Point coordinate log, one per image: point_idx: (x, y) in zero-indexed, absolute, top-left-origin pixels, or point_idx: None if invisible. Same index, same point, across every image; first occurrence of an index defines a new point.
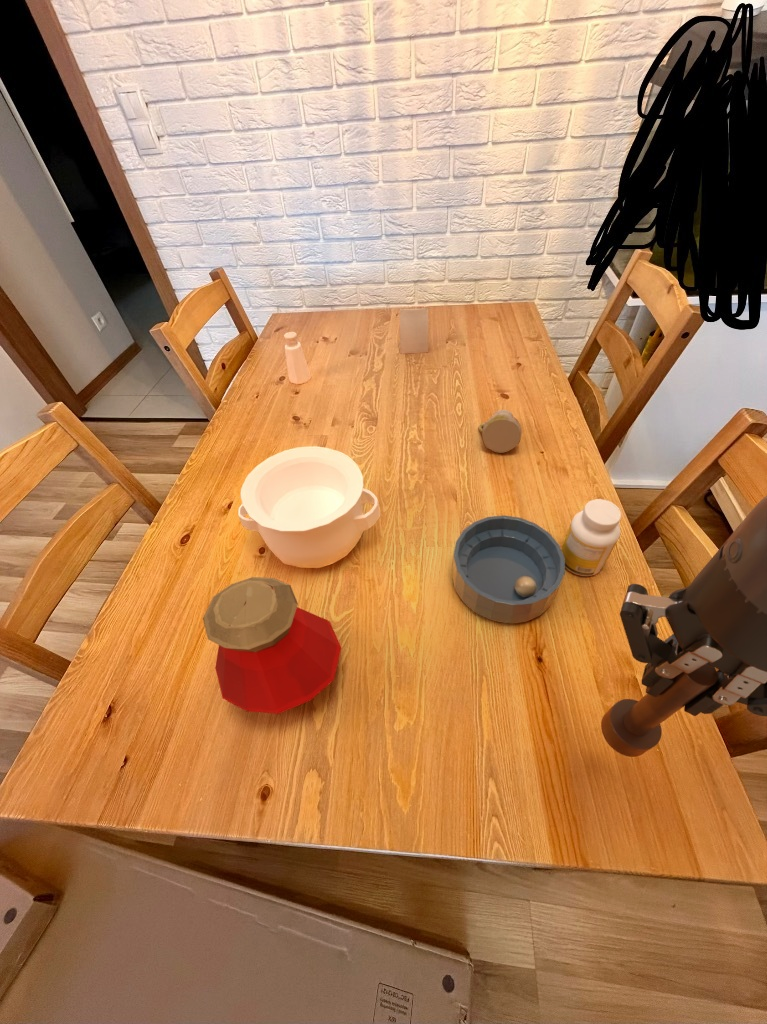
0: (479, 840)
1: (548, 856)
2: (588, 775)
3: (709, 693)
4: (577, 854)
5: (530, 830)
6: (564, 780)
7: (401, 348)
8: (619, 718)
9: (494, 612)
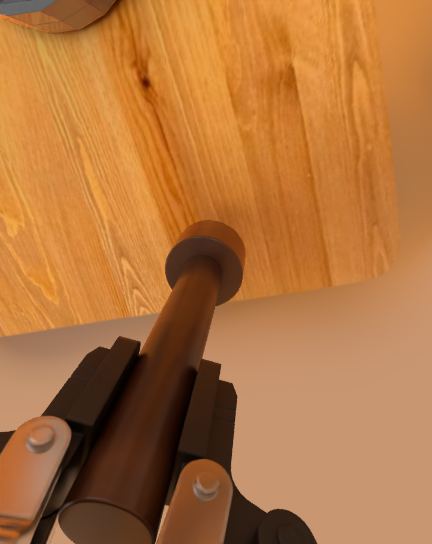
0: (127, 309)
1: None
2: None
3: (170, 499)
4: None
5: (170, 291)
6: None
7: None
8: (179, 271)
9: (35, 25)
